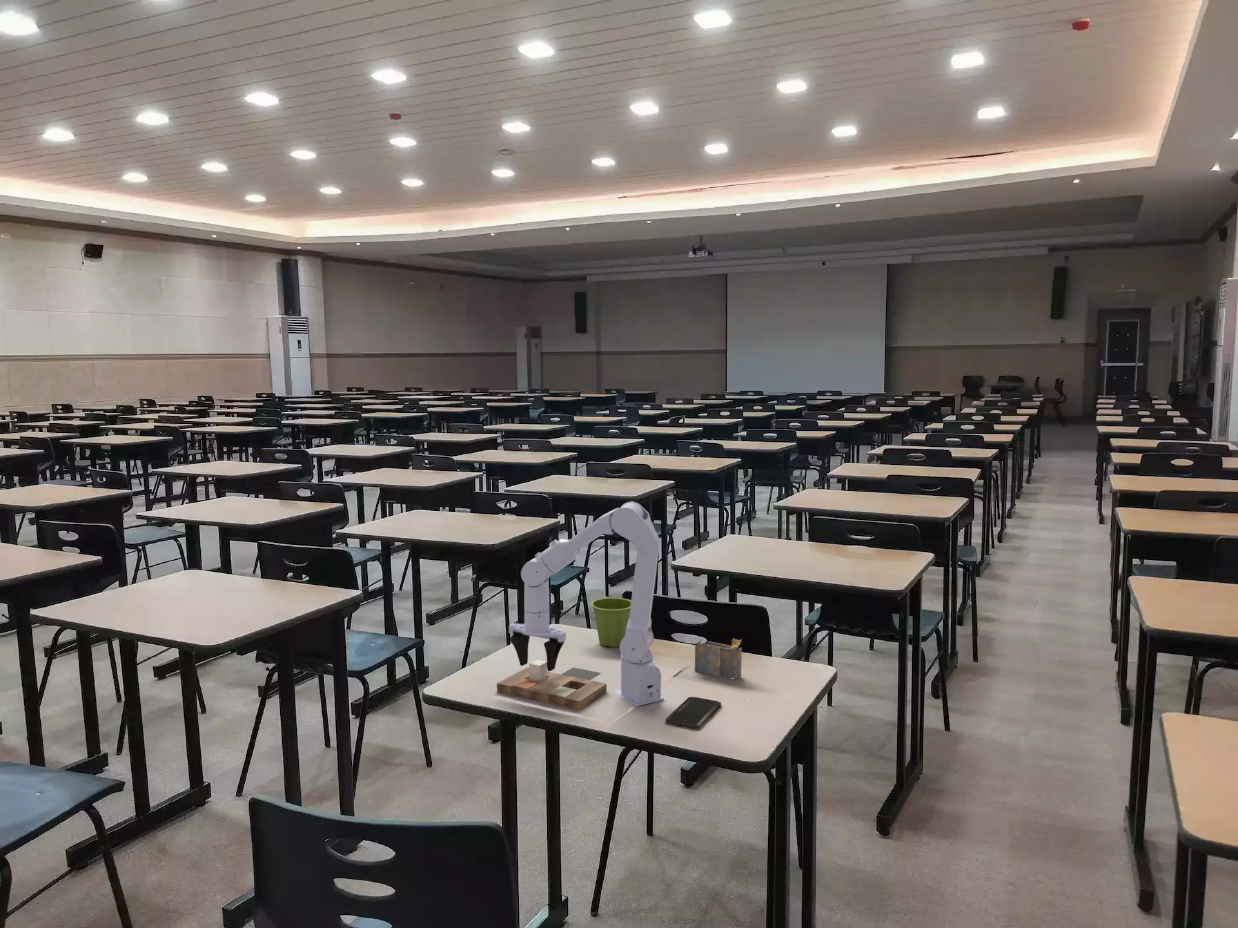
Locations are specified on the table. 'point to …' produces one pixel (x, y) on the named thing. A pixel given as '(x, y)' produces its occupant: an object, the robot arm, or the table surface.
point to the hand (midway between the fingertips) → (537, 667)
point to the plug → (538, 670)
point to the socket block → (553, 689)
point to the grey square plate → (581, 673)
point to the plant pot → (611, 619)
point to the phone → (693, 713)
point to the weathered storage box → (718, 659)
